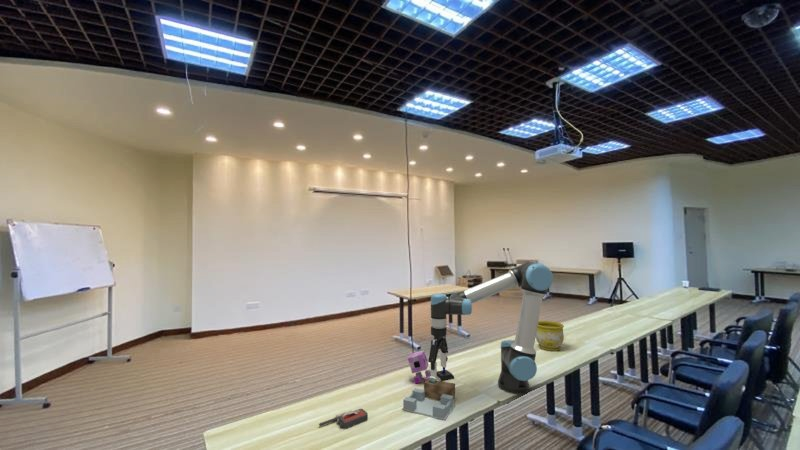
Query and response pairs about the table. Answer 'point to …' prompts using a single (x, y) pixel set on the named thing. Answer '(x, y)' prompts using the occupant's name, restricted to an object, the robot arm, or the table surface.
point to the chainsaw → (349, 418)
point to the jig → (428, 404)
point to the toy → (419, 365)
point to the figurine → (444, 374)
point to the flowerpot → (549, 335)
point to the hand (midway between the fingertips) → (438, 371)
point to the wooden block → (438, 389)
